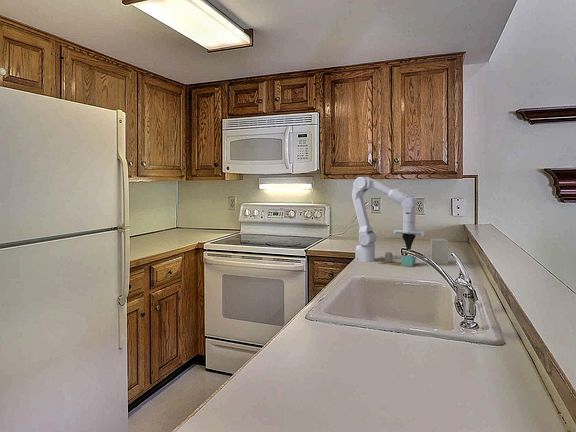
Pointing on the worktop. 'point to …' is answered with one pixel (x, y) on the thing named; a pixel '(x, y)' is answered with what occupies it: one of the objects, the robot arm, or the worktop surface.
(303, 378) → the worktop surface
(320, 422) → the worktop surface
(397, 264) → the walnut board
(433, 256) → the supplement box
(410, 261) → the aqua toy cube
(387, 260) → the post
